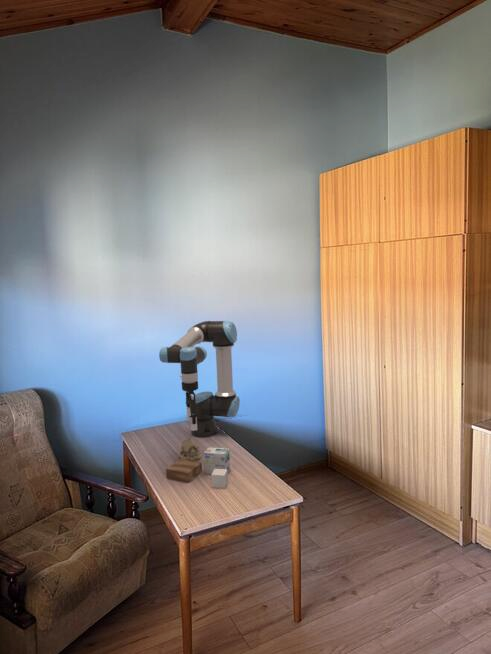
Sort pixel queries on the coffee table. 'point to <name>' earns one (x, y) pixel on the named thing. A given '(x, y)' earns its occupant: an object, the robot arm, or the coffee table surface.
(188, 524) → the coffee table surface
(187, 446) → the ceramic model
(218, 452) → the light bulb box
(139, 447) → the coffee table surface
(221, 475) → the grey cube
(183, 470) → the base block
